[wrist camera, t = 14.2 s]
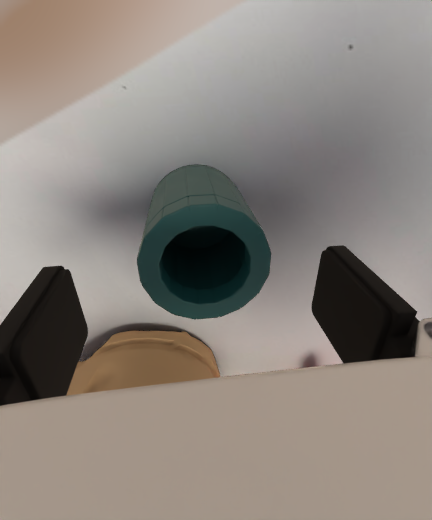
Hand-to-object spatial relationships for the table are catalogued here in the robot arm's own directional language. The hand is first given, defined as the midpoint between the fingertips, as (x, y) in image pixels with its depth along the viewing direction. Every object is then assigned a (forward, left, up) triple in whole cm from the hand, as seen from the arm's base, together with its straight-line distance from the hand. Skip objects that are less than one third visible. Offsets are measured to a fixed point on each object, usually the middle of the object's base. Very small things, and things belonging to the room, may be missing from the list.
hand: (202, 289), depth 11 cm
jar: (0, 0, -9) cm, 9 cm away
